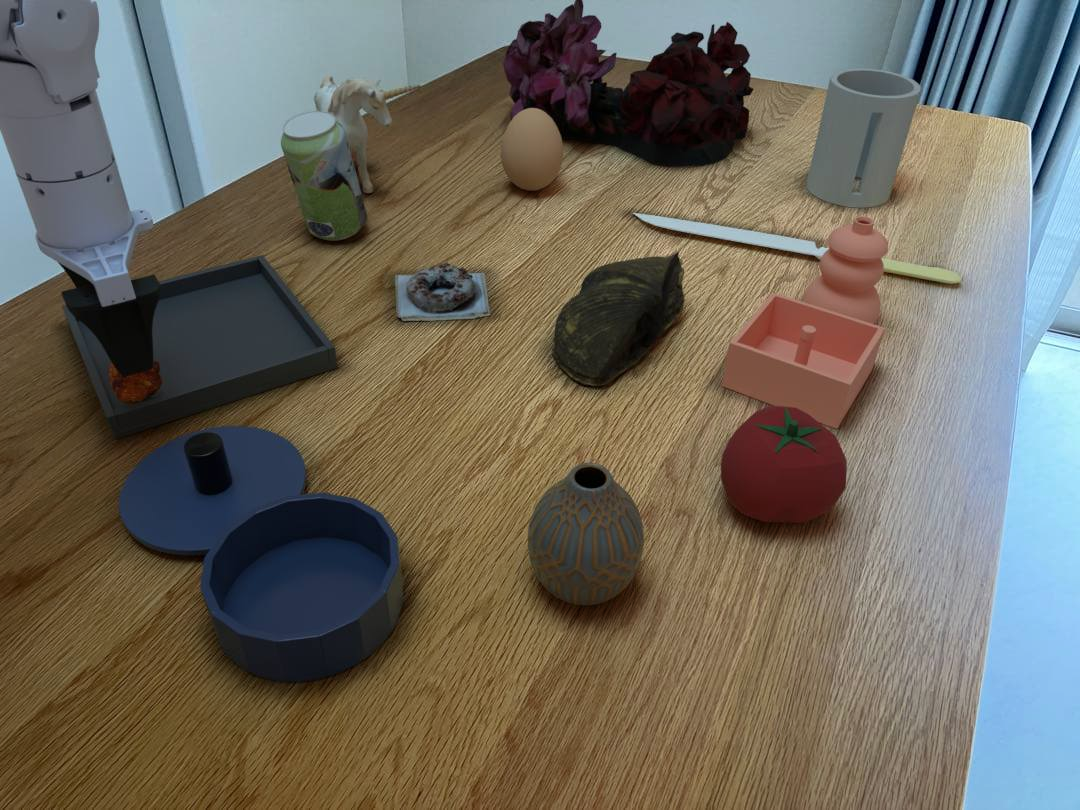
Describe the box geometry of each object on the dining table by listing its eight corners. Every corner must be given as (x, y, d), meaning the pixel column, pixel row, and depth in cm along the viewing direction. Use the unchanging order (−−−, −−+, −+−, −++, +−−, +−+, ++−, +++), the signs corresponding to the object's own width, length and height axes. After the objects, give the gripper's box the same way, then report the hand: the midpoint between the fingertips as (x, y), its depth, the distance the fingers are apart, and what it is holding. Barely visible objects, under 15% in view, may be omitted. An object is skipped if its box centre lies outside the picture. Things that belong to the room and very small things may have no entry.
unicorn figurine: (369, 228, 90) (355, 98, 82) (288, 163, 102) (269, 43, 94) (430, 211, 94) (422, 83, 86) (345, 149, 106) (331, 32, 98)
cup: (858, 168, 105) (885, 65, 98) (906, 201, 98) (939, 93, 91) (791, 177, 103) (814, 72, 95) (835, 212, 96) (863, 101, 88)
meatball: (123, 420, 65) (108, 376, 63) (113, 393, 68) (98, 350, 65) (173, 405, 67) (160, 362, 64) (162, 379, 69) (149, 337, 67)
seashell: (629, 399, 69) (616, 319, 65) (532, 383, 74) (515, 308, 70) (710, 301, 80) (703, 228, 76) (621, 293, 84) (611, 224, 81)
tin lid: (148, 590, 54) (127, 538, 51) (104, 474, 62) (85, 423, 59) (334, 516, 59) (326, 465, 56) (273, 417, 67) (262, 368, 64)
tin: (250, 716, 47) (237, 674, 45) (192, 579, 55) (178, 536, 52) (434, 627, 52) (431, 585, 50) (359, 512, 59) (352, 470, 57)
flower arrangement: (749, 120, 116) (770, -2, 107) (737, 181, 101) (760, 46, 92) (520, 93, 122) (521, -25, 113) (476, 148, 107) (473, 17, 98)
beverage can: (380, 228, 91) (369, 112, 83) (330, 257, 86) (313, 137, 78) (334, 212, 93) (319, 98, 86) (283, 239, 88) (262, 121, 81)
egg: (550, 206, 95) (553, 124, 90) (491, 196, 97) (491, 115, 92) (569, 181, 101) (572, 102, 95) (513, 171, 102) (513, 94, 97)
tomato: (852, 530, 59) (880, 448, 55) (743, 554, 57) (763, 471, 53) (792, 452, 65) (813, 373, 60) (692, 472, 63) (706, 392, 59)
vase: (580, 521, 59) (587, 420, 54) (660, 580, 55) (677, 477, 50) (503, 577, 55) (503, 474, 50) (584, 644, 51) (593, 540, 46)
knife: (635, 204, 95) (624, 215, 91) (961, 262, 87) (965, 276, 83) (634, 216, 96) (623, 227, 92) (957, 274, 87) (961, 289, 83)
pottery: (837, 429, 67) (870, 319, 61) (721, 386, 71) (741, 279, 65) (900, 321, 79) (934, 221, 73) (799, 289, 83) (822, 192, 77)
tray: (114, 439, 64) (106, 417, 63) (69, 326, 76) (61, 305, 74) (338, 368, 72) (334, 346, 70) (266, 274, 83) (262, 254, 82)
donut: (394, 322, 77) (392, 302, 76) (395, 276, 83) (394, 257, 82) (490, 318, 78) (490, 298, 77) (484, 273, 84) (484, 254, 83)
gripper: (161, 193, 52) (209, 378, 61) (107, 115, 62) (155, 284, 70) (31, 221, 49) (100, 411, 58) (-5, 133, 59) (59, 308, 67)
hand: (123, 343), depth 64 cm, fingers open, 7 cm apart
